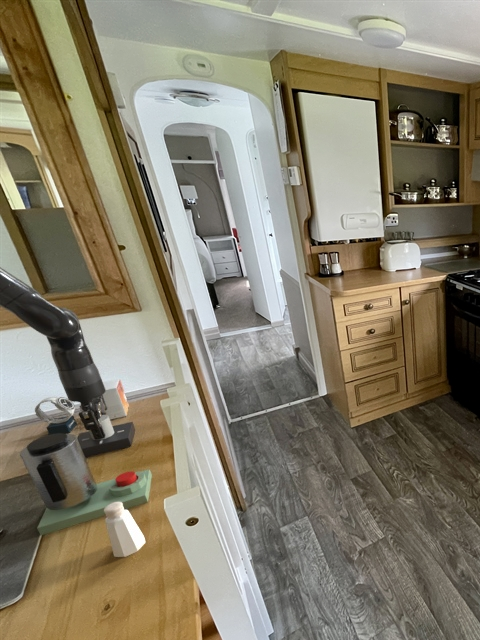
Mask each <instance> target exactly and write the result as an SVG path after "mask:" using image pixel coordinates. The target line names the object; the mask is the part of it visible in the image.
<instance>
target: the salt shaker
mask: <svg viewBox="0 0 480 640" xmlns="http://www.w3.org/2000/svg"><path fill="white" fill-rule="evenodd" d="M104 512H105V513H106V515H105V516H106V518H104V520H105V525H106V530H107V534H108V538H109V542H110V545H111V550H112V554H113V558H126V557H128V556H130V555H133V554H135V553H137V552H138V551H140V549H141V548H142V547H143V546H144V545H145V544H146V543H147V542H146V539H145V536H144V534H143V532H142V531H141V529H140V527H139V526H138V524H137V523H136V520H135V519H134V518H133V516H132V514H131V512H130V511H129V510H128V509H124V507H123V504H122V502H114V503H111V504H109V505H108V506H106V507H105V509H104Z"/></svg>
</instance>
